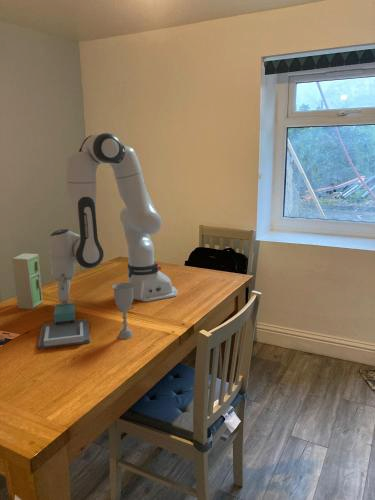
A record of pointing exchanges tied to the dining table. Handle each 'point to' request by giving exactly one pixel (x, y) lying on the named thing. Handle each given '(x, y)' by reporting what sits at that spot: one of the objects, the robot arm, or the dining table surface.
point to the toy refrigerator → (27, 280)
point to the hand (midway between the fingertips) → (65, 304)
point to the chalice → (124, 305)
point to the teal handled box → (64, 312)
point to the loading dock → (64, 334)
